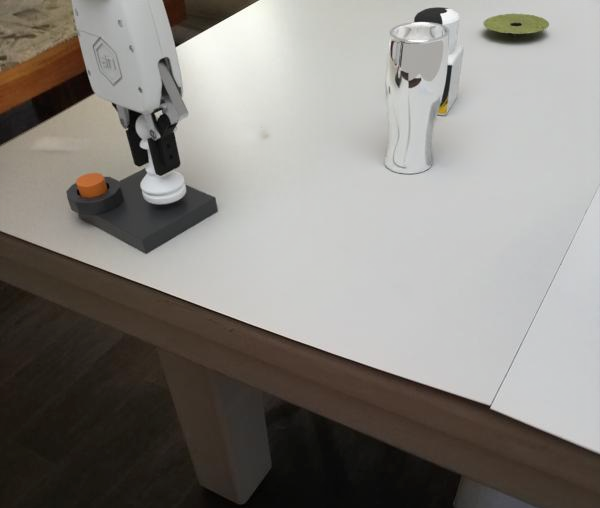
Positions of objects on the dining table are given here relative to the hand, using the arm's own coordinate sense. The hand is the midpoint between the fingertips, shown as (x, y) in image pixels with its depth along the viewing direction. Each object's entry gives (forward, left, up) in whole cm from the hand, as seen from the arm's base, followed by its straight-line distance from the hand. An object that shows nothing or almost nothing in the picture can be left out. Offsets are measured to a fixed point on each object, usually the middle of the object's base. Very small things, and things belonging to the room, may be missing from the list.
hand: (157, 164), depth 65 cm
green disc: (+4, +78, -7) cm, 78 cm away
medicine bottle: (+8, +44, -7) cm, 45 cm away
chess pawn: (0, 0, -4) cm, 4 cm away
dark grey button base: (-2, -1, -6) cm, 7 cm away
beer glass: (+16, +27, -7) cm, 32 cm away
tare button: (-7, -5, -3) cm, 9 cm away
